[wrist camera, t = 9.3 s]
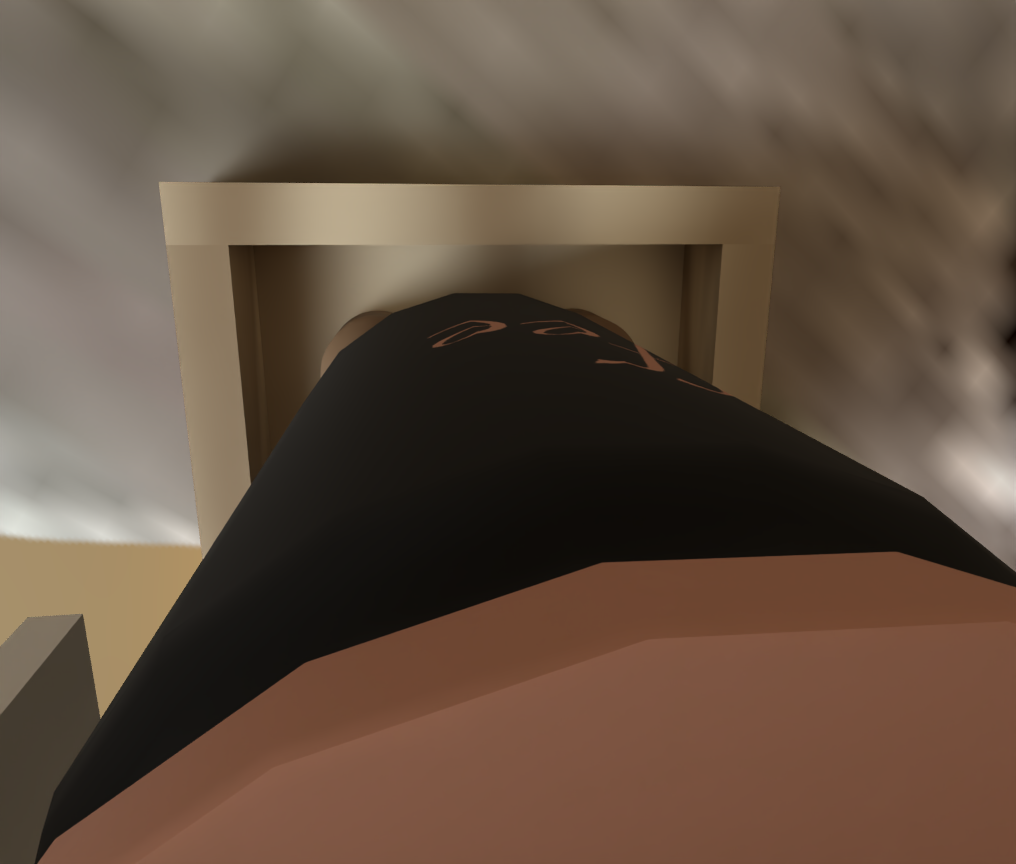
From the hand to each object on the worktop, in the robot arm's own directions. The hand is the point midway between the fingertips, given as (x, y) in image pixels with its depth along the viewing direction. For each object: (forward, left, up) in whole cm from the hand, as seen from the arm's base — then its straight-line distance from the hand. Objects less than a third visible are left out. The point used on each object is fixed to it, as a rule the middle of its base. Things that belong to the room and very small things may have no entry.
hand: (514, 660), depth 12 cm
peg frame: (0, 0, -13) cm, 13 cm away
